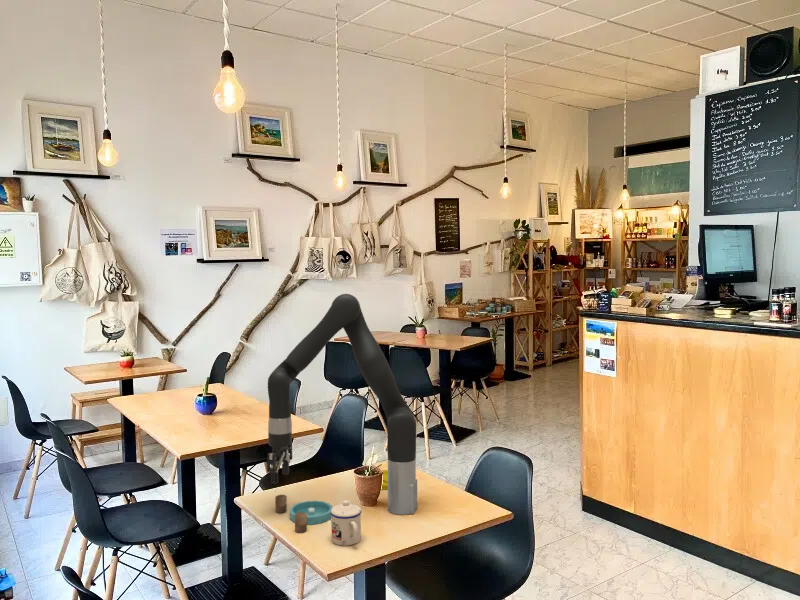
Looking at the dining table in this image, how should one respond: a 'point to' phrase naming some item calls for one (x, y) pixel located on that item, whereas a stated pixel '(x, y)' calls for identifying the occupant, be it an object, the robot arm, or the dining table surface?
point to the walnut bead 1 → (281, 504)
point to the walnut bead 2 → (300, 522)
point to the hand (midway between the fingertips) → (280, 478)
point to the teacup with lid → (346, 524)
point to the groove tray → (318, 514)
